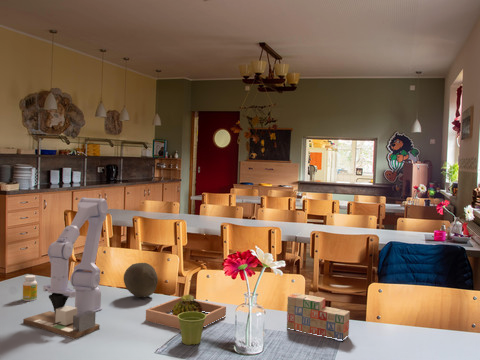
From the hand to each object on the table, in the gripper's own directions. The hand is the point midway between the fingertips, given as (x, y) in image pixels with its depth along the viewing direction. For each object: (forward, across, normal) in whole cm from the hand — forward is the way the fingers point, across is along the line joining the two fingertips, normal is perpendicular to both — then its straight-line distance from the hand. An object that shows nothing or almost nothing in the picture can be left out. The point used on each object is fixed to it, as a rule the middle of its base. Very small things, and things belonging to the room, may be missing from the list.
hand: (58, 314), depth 166 cm
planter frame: (+4, +32, +32) cm, 46 cm away
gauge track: (+4, +1, 0) cm, 4 cm away
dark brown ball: (+4, 0, +43) cm, 43 cm away
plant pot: (+4, +47, +14) cm, 50 cm away
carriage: (+2, +4, -2) cm, 5 cm away
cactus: (+4, +33, +31) cm, 46 cm away
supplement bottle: (+4, -35, +14) cm, 38 cm away
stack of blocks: (+4, +79, +47) cm, 92 cm away
